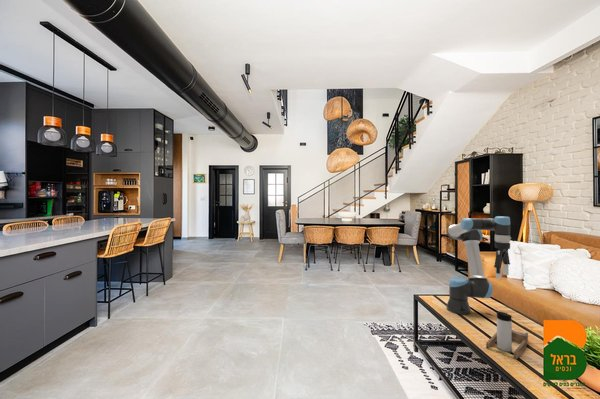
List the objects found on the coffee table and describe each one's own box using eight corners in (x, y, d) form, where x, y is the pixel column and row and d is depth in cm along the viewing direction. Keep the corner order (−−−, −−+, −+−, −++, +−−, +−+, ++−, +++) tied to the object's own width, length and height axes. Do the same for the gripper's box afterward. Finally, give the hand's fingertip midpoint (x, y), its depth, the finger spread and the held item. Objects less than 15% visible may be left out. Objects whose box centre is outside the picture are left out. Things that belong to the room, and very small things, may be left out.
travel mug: (493, 347, 142) (493, 310, 142) (504, 346, 142) (504, 310, 143) (503, 353, 136) (503, 315, 136) (515, 353, 136) (514, 314, 136)
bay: (486, 348, 141) (486, 338, 141) (501, 332, 158) (501, 324, 158) (516, 359, 131) (516, 349, 131) (529, 341, 148) (529, 332, 148)
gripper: (503, 244, 147) (503, 282, 147) (515, 240, 162) (515, 274, 162) (487, 243, 153) (487, 278, 153) (501, 239, 168) (501, 271, 168)
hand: (502, 276), depth 158 cm, fingers open, 13 cm apart
